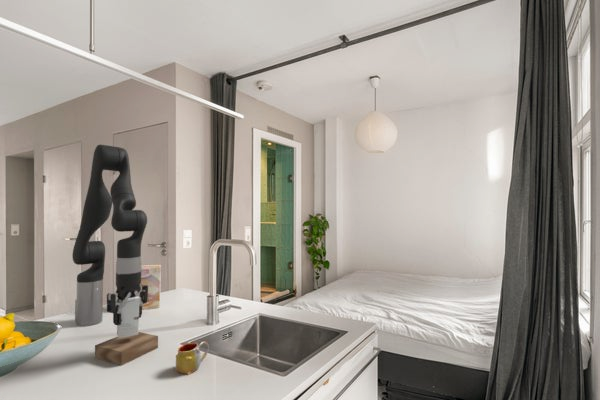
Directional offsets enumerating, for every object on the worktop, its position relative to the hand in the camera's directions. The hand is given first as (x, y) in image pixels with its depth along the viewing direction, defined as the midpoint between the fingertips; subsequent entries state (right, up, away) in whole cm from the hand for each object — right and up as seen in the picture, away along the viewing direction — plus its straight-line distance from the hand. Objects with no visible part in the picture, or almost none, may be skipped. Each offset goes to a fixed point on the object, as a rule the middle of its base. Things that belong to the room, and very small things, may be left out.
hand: (128, 321), depth 111 cm
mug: (+25, -11, -9) cm, 28 cm away
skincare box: (0, -5, 0) cm, 5 cm away
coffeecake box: (-18, -11, +49) cm, 53 cm away
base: (0, -10, 0) cm, 10 cm away
